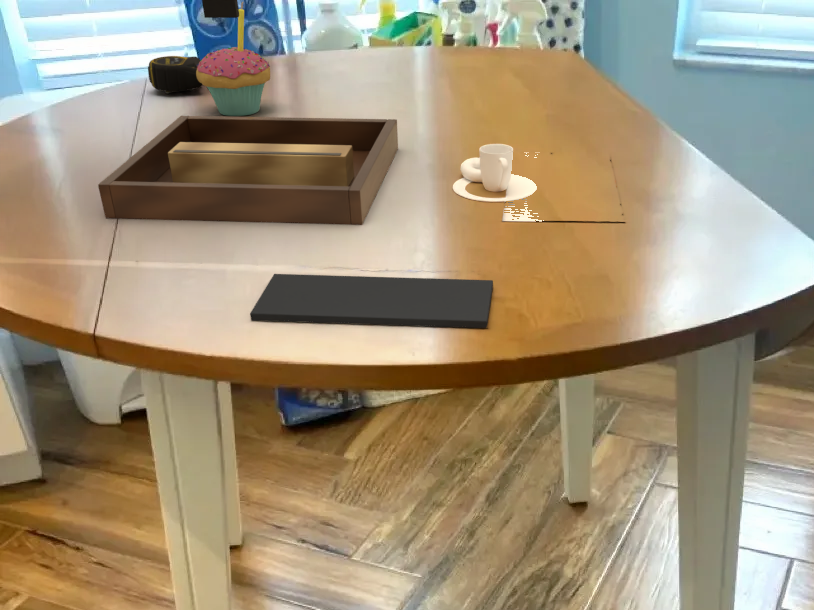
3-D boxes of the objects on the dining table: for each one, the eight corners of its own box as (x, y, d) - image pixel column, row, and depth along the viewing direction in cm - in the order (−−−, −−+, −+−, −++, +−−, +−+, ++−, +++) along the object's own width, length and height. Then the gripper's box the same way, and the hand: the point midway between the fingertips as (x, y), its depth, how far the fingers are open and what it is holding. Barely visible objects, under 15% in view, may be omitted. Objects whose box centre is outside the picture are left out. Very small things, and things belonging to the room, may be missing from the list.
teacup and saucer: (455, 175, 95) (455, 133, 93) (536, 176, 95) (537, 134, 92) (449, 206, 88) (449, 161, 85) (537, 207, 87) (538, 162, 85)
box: (106, 223, 85) (97, 184, 83) (186, 148, 103) (180, 115, 101) (362, 230, 83) (360, 190, 81) (398, 153, 101) (397, 119, 99)
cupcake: (274, 100, 119) (262, -6, 112) (275, 119, 112) (262, 7, 105) (203, 104, 118) (187, -3, 111) (200, 123, 111) (182, 10, 104)
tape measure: (205, 95, 121) (200, 64, 119) (149, 98, 120) (143, 67, 118) (207, 83, 127) (202, 53, 125) (153, 85, 126) (148, 55, 124)
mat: (250, 320, 69) (249, 313, 68) (274, 280, 75) (273, 273, 74) (487, 328, 68) (487, 320, 67) (493, 287, 73) (493, 279, 73)
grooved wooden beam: (173, 184, 92) (167, 152, 90) (184, 172, 95) (179, 141, 93) (347, 188, 91) (345, 155, 89) (354, 176, 94) (352, 144, 92)
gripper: (202, -326, 61) (248, 31, 74) (291, -295, 82) (316, -20, 94) (89, -323, 62) (153, 30, 74) (206, -294, 82) (241, -20, 95)
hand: (244, 3), depth 84 cm, fingers open, 13 cm apart
